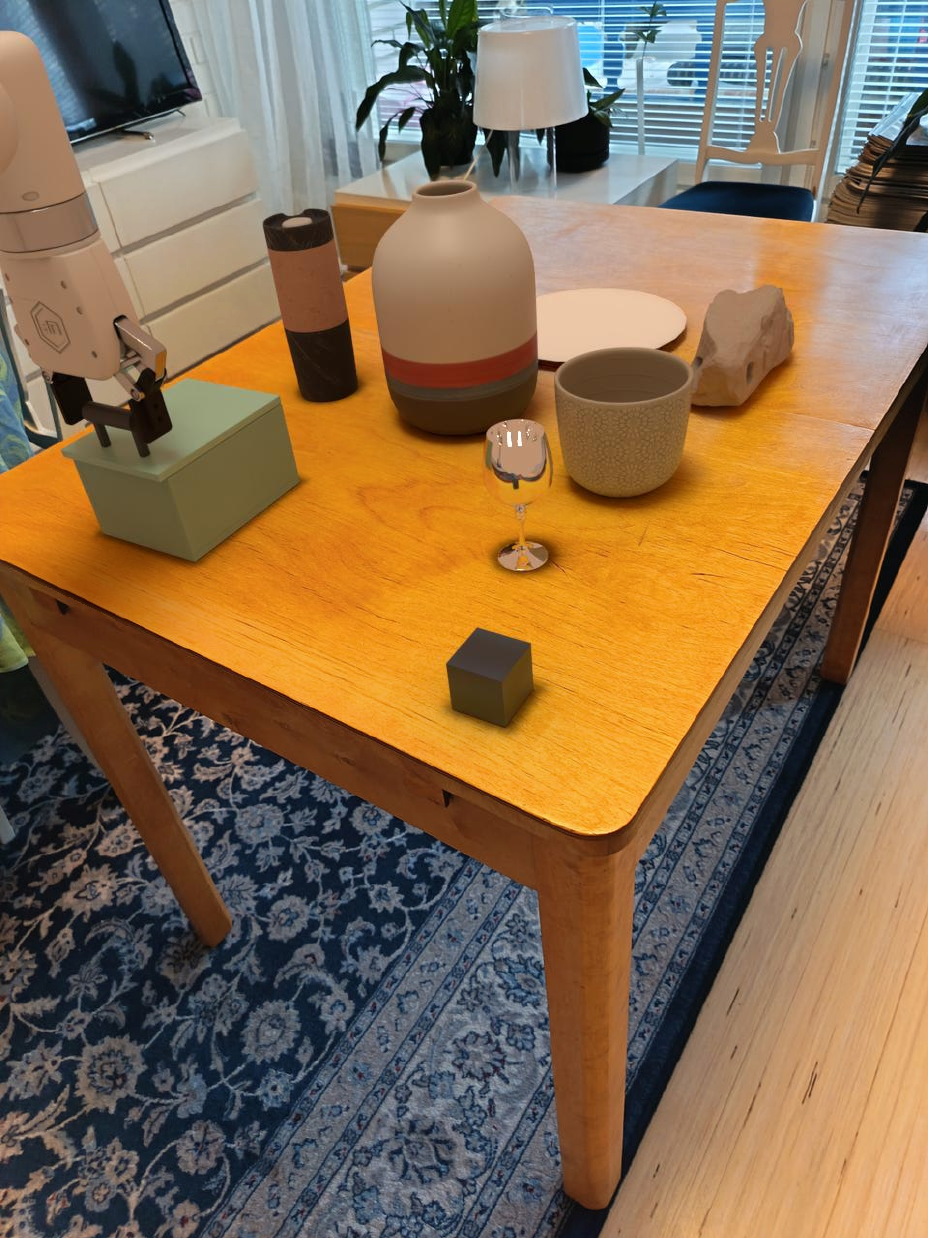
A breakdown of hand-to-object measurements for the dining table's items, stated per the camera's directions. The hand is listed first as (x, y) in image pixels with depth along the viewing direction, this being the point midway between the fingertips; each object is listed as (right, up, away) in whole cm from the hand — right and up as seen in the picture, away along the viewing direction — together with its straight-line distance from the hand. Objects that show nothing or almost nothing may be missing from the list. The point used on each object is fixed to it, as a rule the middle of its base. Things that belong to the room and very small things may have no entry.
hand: (119, 427), depth 80 cm
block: (+33, -23, -14) cm, 42 cm away
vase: (+31, +7, +23) cm, 39 cm away
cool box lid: (+3, +1, +6) cm, 7 cm away
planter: (+46, -3, +8) cm, 47 cm away
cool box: (+4, -6, +11) cm, 13 cm away
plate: (+47, +20, +38) cm, 63 cm away
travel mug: (+14, +11, +31) cm, 36 cm away
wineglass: (+36, -12, 0) cm, 38 cm away
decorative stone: (+61, +10, +23) cm, 66 cm away
